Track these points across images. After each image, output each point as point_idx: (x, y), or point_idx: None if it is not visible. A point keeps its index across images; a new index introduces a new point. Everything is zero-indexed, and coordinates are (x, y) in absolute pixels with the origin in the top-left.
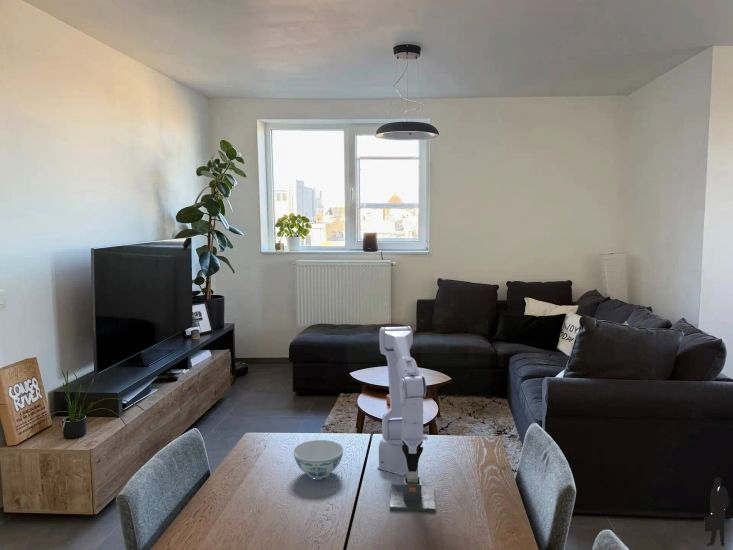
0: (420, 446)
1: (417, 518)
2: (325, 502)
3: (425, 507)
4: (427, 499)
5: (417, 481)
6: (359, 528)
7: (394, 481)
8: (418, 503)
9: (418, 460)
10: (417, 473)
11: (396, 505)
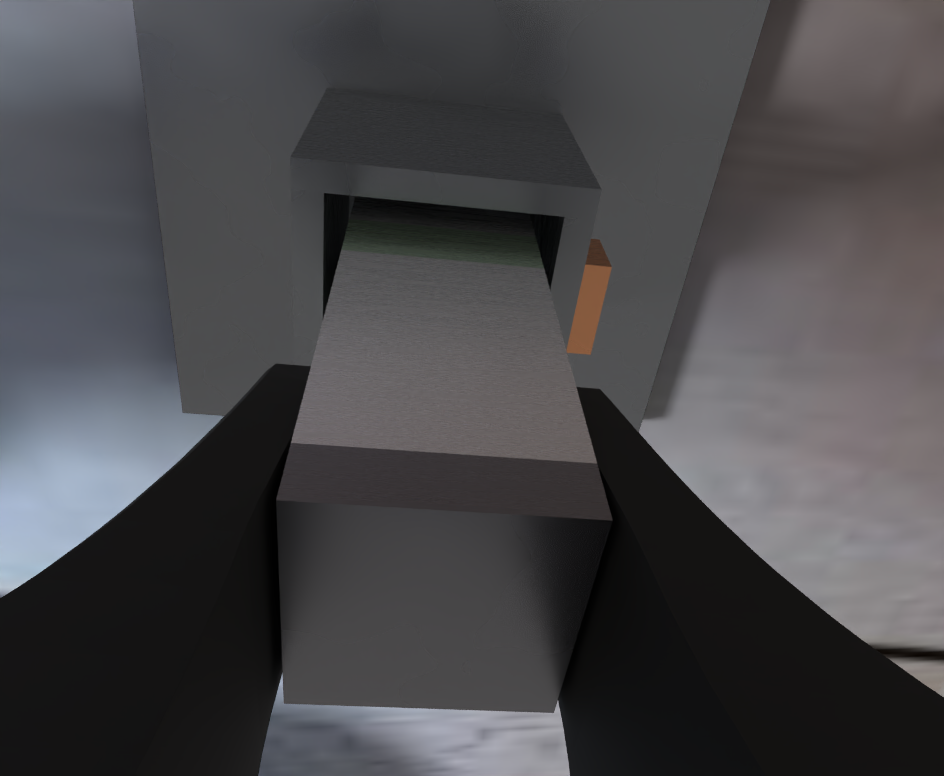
0: (155, 728)
1: (834, 184)
2: (461, 758)
3: (726, 80)
4: (533, 21)
5: (537, 259)
6: (826, 603)
7: (27, 354)
8: (616, 159)
9: (761, 562)
10: (555, 331)
11: (623, 389)
